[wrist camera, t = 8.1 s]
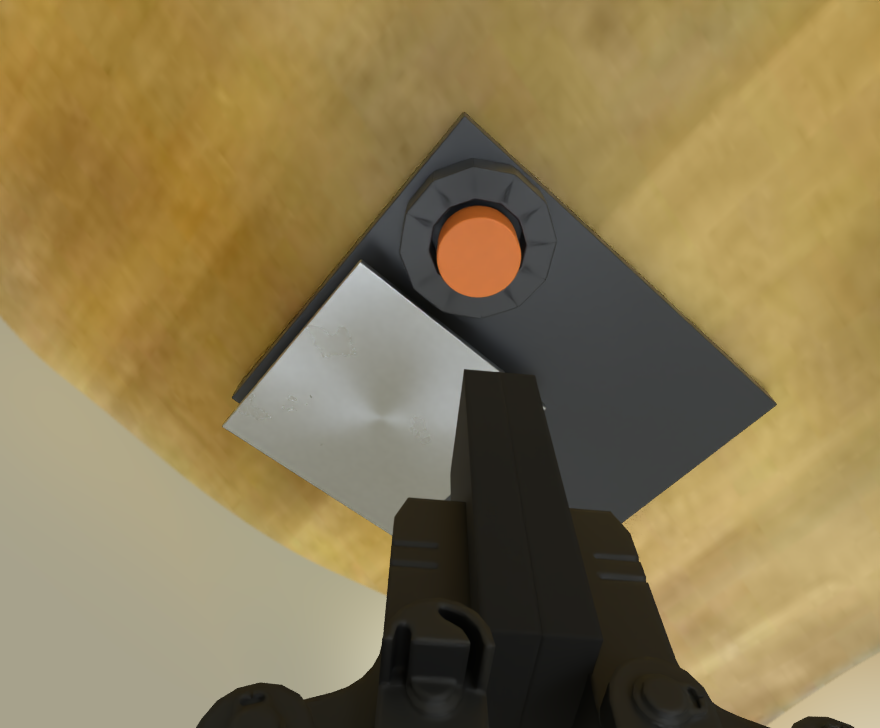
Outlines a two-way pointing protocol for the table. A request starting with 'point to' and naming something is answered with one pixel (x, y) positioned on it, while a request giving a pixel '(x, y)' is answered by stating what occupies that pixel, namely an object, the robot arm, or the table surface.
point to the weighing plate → (364, 399)
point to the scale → (559, 328)
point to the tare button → (478, 251)
